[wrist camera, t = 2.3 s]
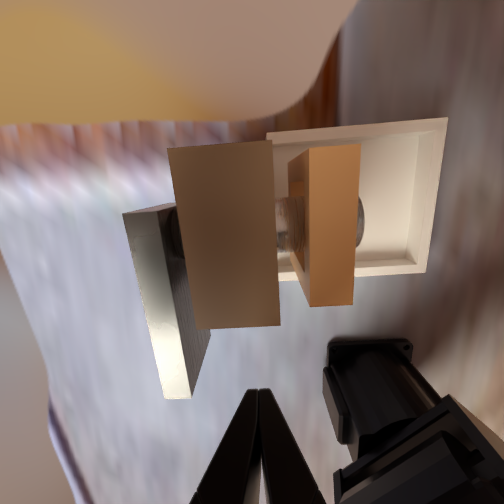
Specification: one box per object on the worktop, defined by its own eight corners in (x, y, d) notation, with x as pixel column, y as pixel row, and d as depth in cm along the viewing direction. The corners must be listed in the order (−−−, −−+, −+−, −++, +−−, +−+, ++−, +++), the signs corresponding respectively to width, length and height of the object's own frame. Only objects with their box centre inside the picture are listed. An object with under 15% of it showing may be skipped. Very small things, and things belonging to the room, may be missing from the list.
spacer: (317, 160, 13) (361, 143, 7) (316, 258, 14) (352, 304, 9) (287, 162, 13) (309, 147, 7) (290, 260, 14) (310, 306, 9)
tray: (425, 124, 14) (448, 117, 13) (408, 263, 17) (425, 272, 15) (265, 138, 15) (266, 132, 13) (272, 271, 17) (274, 281, 16)
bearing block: (263, 164, 15) (272, 139, 7) (268, 252, 17) (280, 325, 8) (218, 167, 15) (167, 148, 7) (227, 255, 17) (196, 329, 8)
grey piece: (336, 190, 12) (380, 194, 8) (332, 329, 14) (364, 391, 10) (168, 203, 12) (122, 213, 8) (191, 336, 15) (164, 399, 10)
